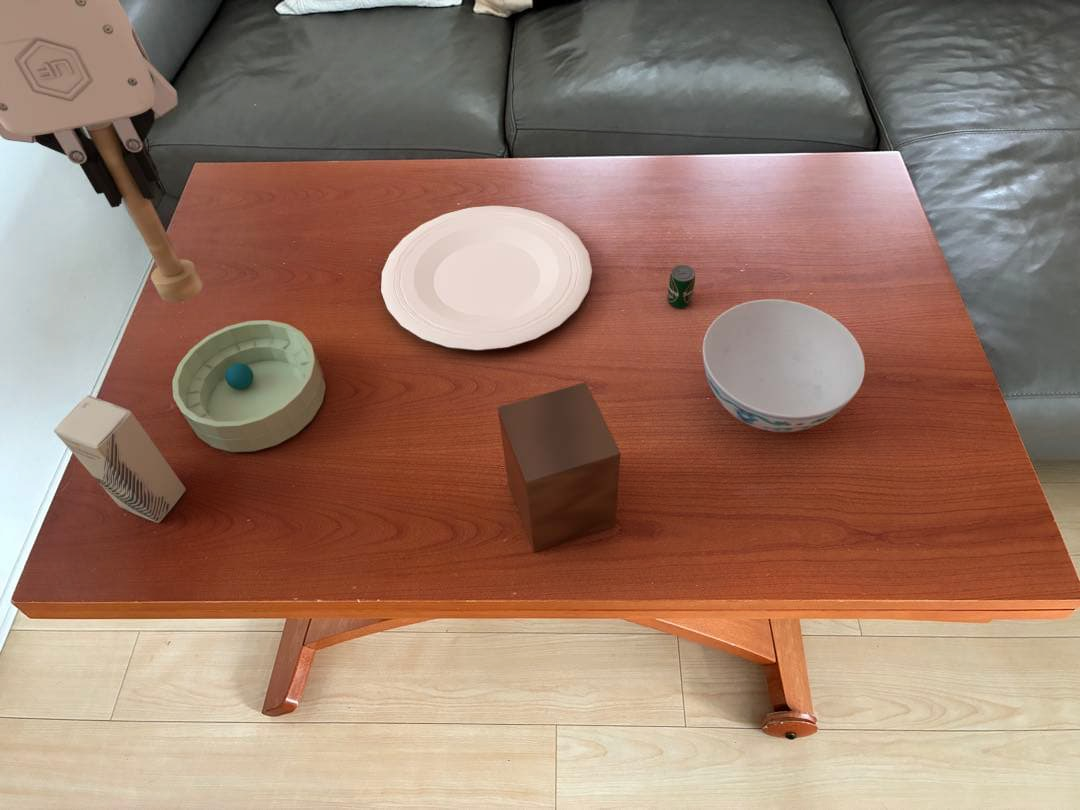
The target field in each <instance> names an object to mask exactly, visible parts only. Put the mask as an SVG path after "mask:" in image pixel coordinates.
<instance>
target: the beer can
mask: <svg viewBox="0 0 1080 810" xmlns="http://www.w3.org/2000/svg"><path fill="white" fill-rule="evenodd" d="M668 281H669V282H668V290H667V298H666V300H667V303H668V304H669V305H670V307H673V308H676V309H685V308H687V307H689V306H691V304H692V301H693V295H694V289H695V284H696V271H695V270H694V268H693V267H691V266H689V265H687V264H679V265H676V266H674V267H673V268H672V269H671V272H670V275H669V280H668Z"/></svg>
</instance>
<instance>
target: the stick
mask: <svg viewBox="0 0 1080 810" xmlns="http://www.w3.org/2000/svg"><path fill="white" fill-rule="evenodd" d="M86 131H87V133H88V135H89V137H90V139H92V141H93V142H94V144H95V146H96V148H97V150H98V152H99V154H100V156H101V158H102V160H103V162H104V164H105V166H106V168H107V170H108V171H109V173H110V175H111V177H112V179H113V181H114V183H115V185H116V187H117V189H118V191H119V193H120V195H121V197H122V200H123V201H122V202H124V204H125V207H126V208H127V211H128V212H129V214H130V216H131V218H132V220H133V222H134V224H135V226H136V228H137V230H138V232H139V234H140V236H141V237H142V240H143V241H144V243H145V245H146V247H147V249H148V251H149V253H150V255H151V257H152V259H153V261H154V263H155V264H156V266H157V267H155V269H153V271H152V272H151V275H150V279H151V281H152V283H153V285H154V287H155V289H156V291H157V292H158V295H159V297H160V299H162V300H163V302H164V301H165V302H167V303H181V302H185V301H188V300H190V299H192V298H193V297H195V296H196V295H198V294H199V293H200V292H201V291H202V289H203V286H204V283H203V280H202V278H201V276H200V274H199V272H198V270H197V267H196V266H195V264H194V262H192V261H191V260H189V259H184V258H179V256H178V254H177V252H176V250H175V248H174V246H173V244H172V241H171V240H170V238H169V236H168V233H167V232H166V230H165V227H164V226H163V224H162V221H161V219H160V217H159V215H158V213H157V211H156V208H155V207H154V205H153V203H152V201H151V199H150V200H147V198H146V199H144V198H143V196H142V194H141V192H140V190H139V188H138V186H137V184H136V182H135V181H134V179H133V177H132V175H131V173H130V171H129V169H128V167H127V166H126V164H125V162H124V160H123V147H122V145H121V138H120V136H119V134H118V132H117V130H116V128H115V126H114V124H113V122H112V121H109V122H104V123H99V124H94V125H89V126H86Z"/></svg>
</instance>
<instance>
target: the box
mask: <svg viewBox="0 0 1080 810" xmlns="http://www.w3.org/2000/svg"><path fill="white" fill-rule="evenodd" d="M53 432H54V433H55V435H56V436H57V437H58V439H60V441H62V443H63V444H64V445H65V446H66V447H67V449H69V451H70V452H71V453H72V454H73V455H74V456H75V457H76V458H77V460H78V461H79V462H80V463H81V464H82V466H84V468H85V469H86V470H87V471H88V472H89V474H90V475H91V476H92V477H93V478H94V479H95V480H96V481H97V483H98V484H99V485H100V486H101V487H102V489H103V490H104V491H105V492H106V493H107V494H108V495H109V497H110V498H111V499H112V500H113V501H114V502H115V504H117V506H118V507H119V508H121V509H122V510H125V511H127V512H130V513H132V514H133V515H136V516H139V517H140V518H143V519H145V520H149V521H151V522H154V523H157V524H159V523H160V522H162V520H163V519H164V518H165V517H166V516H167V515H168V513H169V512H170V511H171V510H172V509H173V507H175V505H176V504H177V503H178V501H179V500H180V499H181V497H182V496H183V495H184V494H185V492H186V491H187V489H186V487H185V485H184V484H183V483H182V481H181V480H180V479H179V477H178V475H177V474H176V473H175V471H174V470H173V469H172V467H171V466H170V465H169V463H168V462H167V460H166V459H165V457H164V456H163V454H162V452H161V451H160V450H159V449H158V447H157V446H156V445H155V443H154V442H153V440H152V439H151V438H150V436H149V435H148V433H147V432H146V430H145V429H144V427H143V425H141V424H140V422H139V421H138V419H137V417H136V416H135V415H134V414H133V412H132V411H131V410H129V409H128V408H127V409H126V408H124V407H123V406H119V405H117V404H115V403H112V402H109V401H107V400H104V399H100V398H97V397H95V396H93V395H88V394H87V395H86V396H85V397H84V398H82V399H81V400H80V401H79V403H78V404H77V405H76V406H75V407H73V408H72V410H71V411H70V412H68V414H67V415H66V416H65V417H64V418H63V419H62V420H61V421H60V422H59V423H58V425H56V426H55V428H54V429H53Z"/></svg>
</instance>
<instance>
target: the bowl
mask: <svg viewBox="0 0 1080 810" xmlns="http://www.w3.org/2000/svg"><path fill="white" fill-rule="evenodd" d="M236 363H242V364H245V365H247V366H249V367H250V368H251V370H252V372H253V376H254V377H253V381H252V383H251V385H250V386H248V387H247V388H245V389H234V388H232V387H231V386H229V384H228V383H227V381H226V378H225V374H226V371H227V369H228V368H229V367H230V366H231V365H233V364H236ZM326 388H327V387H326V380H325V375H324V372H323V369H322V366H321V363H320V361H319V359H318V356H317V354H316V351H315V349H314V347H313V344H312V343H311V342H310V340H309V339H308V338H307V336H306V335H305V334H304V332H303V331H301V330H299V329H297V328H295V327H294V326H292V325H290V324H289V323H285V322H280V321H275V320H271V319H266V320H265V319H264V320H263V319H262V320H261V319H259V320H247V321H243V322H239V323H234V324H231V325H228V326H225V327H223V328H221V329H219V330H216V331H215V332H213V333H210V334H209V335H207V336H205V337H204V338H203V339H202V340H201V341H199V342H198V343H196V344H195V345H194V346H193V347H191V348H190V349H189V350H188V351H187V353H186V354H185V355H184V356H183V358H182V359H181V360H180V362H179V363H178V365H177V368H176V370H175V372H174V375H173V378H172V398H173V400H174V402H175V403H176V406H177V407H178V409H179V410H180V412H181V414H182V415H183V417H184V418H185V420H186V421H187V423H188V424H189V426H190V427H191V429H192V430H193V432H194V433H195V435H196V436H197V438H198V439H200V440H202V441H203V442H205V443H206V444H207V445H209V446H210V447H212V448H215V449H218V450H222V451H226V452H228V453H249V452H251V453H252V452H257V451H260V450H264V449H267V448H271V447H274V446H278V445H279V444H281V443H283V442H284V441H287V440H289V439H290V438H292V437H294V436H296V435H297V434H299V433H300V431H302V430H303V429H304V428H305V427H306V426H307V425H308V424H309V423H310V422H312V421H313V419H314V418H315V416H316V414H317V412H318V411H319V409H320V407H321V406H322V404H323V401H324V396H325V392H326Z"/></svg>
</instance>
